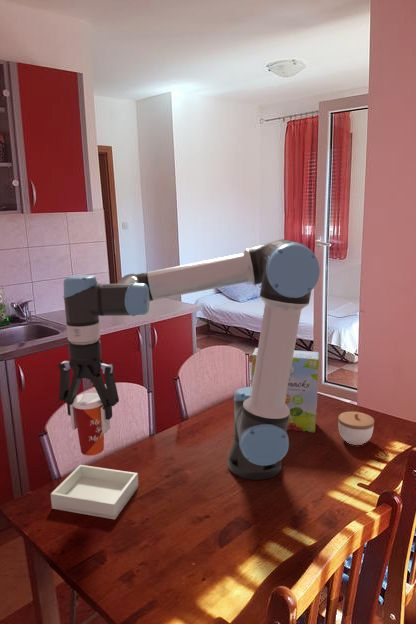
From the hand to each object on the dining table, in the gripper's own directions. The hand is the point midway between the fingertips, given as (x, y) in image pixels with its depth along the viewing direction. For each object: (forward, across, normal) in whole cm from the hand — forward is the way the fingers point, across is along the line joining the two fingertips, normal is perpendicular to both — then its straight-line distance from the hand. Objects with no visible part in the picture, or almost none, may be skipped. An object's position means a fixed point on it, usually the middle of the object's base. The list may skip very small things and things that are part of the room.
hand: (91, 428), depth 119 cm
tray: (+19, 0, 0) cm, 19 cm away
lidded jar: (+20, +64, +47) cm, 82 cm away
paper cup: (+6, 0, 0) cm, 6 cm away
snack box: (+20, +42, +53) cm, 70 cm away
